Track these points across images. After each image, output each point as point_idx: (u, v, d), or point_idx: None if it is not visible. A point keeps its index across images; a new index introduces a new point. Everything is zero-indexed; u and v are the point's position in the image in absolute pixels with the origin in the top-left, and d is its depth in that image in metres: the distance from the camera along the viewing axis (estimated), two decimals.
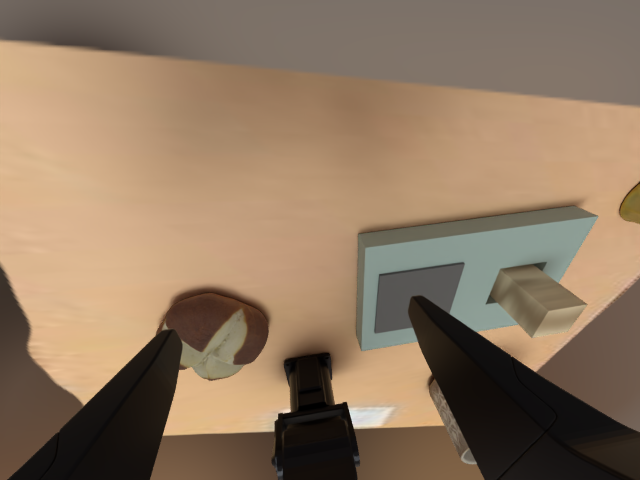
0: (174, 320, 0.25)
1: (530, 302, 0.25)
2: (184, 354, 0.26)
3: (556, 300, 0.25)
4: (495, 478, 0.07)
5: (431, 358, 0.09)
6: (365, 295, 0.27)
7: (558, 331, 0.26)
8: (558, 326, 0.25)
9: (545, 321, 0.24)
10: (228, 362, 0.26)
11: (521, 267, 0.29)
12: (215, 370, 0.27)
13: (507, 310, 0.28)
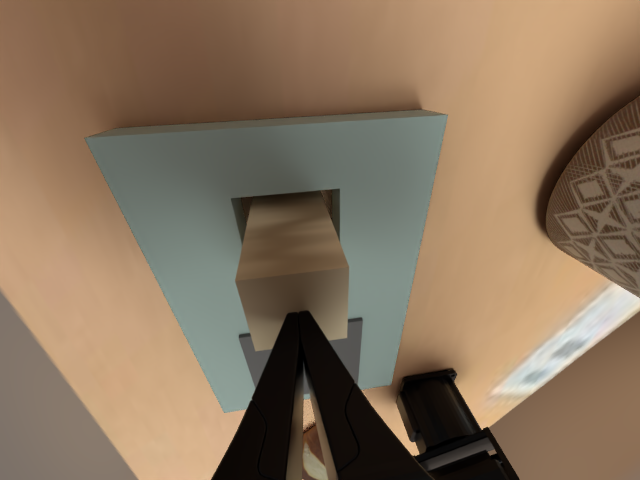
0: None
1: None
2: None
3: None
4: None
5: (306, 378, 0.09)
6: None
7: (340, 292, 0.10)
8: (315, 304, 0.10)
9: None
10: None
11: None
12: None
13: None
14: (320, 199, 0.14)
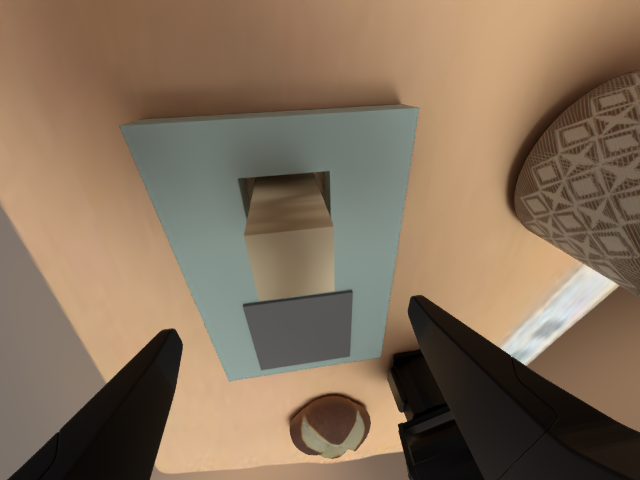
0: None
1: None
2: (328, 451, 0.36)
3: None
4: (495, 478, 0.07)
5: (431, 358, 0.09)
6: (289, 370, 0.26)
7: (327, 249, 0.12)
8: (307, 259, 0.12)
9: (287, 292, 0.13)
10: (337, 446, 0.33)
11: None
12: (349, 445, 0.35)
13: None
14: (313, 181, 0.17)
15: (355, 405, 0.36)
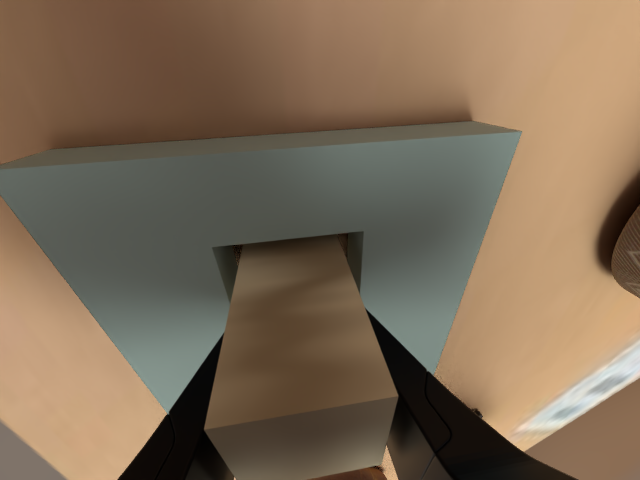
0: None
1: None
2: None
3: None
4: None
5: None
6: None
7: (378, 424, 0.06)
8: (338, 439, 0.06)
9: (297, 476, 0.07)
10: None
11: None
12: None
13: None
14: (335, 242, 0.11)
15: (372, 473, 0.30)
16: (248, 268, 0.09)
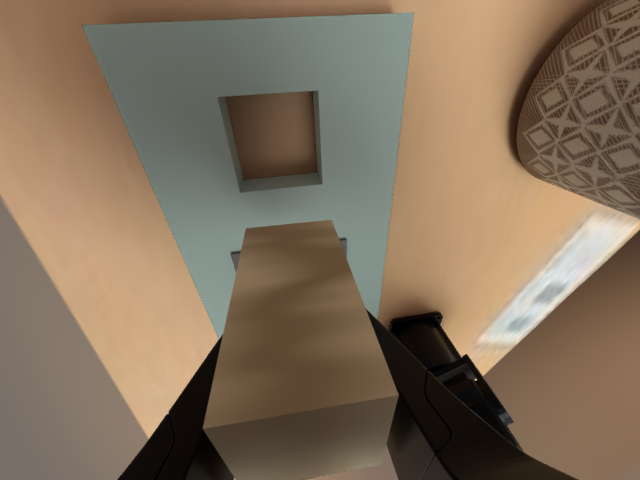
0: None
1: None
2: None
3: None
4: None
5: None
6: None
7: (378, 423, 0.06)
8: (338, 439, 0.06)
9: (297, 476, 0.07)
10: None
11: None
12: None
13: None
14: (335, 241, 0.10)
15: None
16: (248, 267, 0.09)
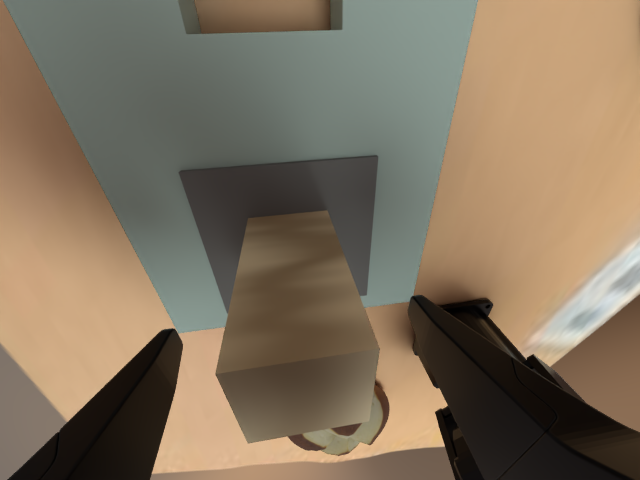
0: None
1: None
2: (333, 446, 0.27)
3: None
4: (495, 478, 0.07)
5: (431, 358, 0.09)
6: None
7: (364, 377, 0.07)
8: (329, 391, 0.07)
9: (294, 430, 0.08)
10: (346, 437, 0.24)
11: None
12: (362, 437, 0.26)
13: None
14: (330, 228, 0.11)
15: None
16: (250, 251, 0.10)
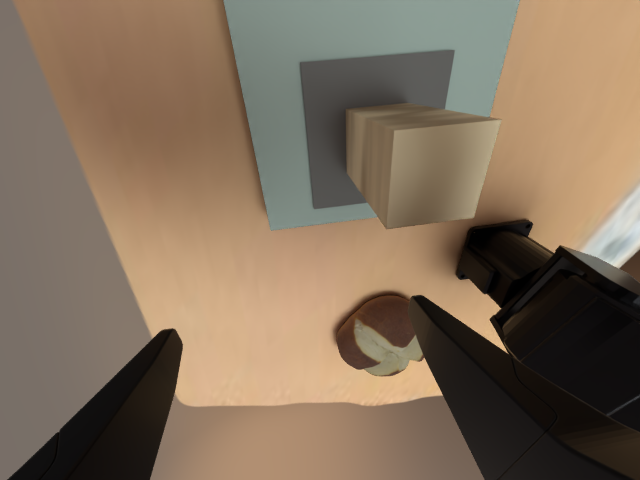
0: None
1: None
2: (384, 367, 0.30)
3: (381, 183, 0.11)
4: (495, 478, 0.07)
5: (431, 358, 0.09)
6: (348, 218, 0.20)
7: (483, 154, 0.10)
8: (457, 169, 0.10)
9: (421, 217, 0.11)
10: (400, 350, 0.27)
11: (353, 142, 0.15)
12: (412, 354, 0.28)
13: None
14: (419, 105, 0.14)
15: None
16: (365, 113, 0.13)
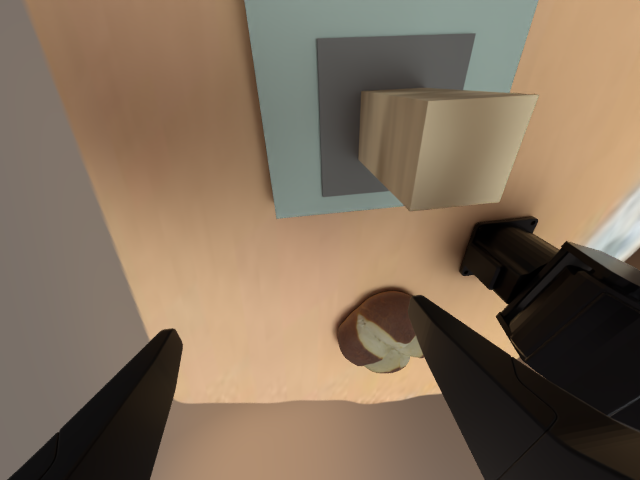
0: (349, 360, 0.30)
1: None
2: (385, 363, 0.29)
3: (405, 162, 0.10)
4: (495, 478, 0.07)
5: (431, 358, 0.09)
6: (357, 207, 0.19)
7: (516, 132, 0.09)
8: (488, 147, 0.09)
9: (447, 199, 0.10)
10: (403, 346, 0.26)
11: (370, 125, 0.14)
12: (414, 351, 0.28)
13: None
14: (439, 89, 0.14)
15: None
16: (385, 93, 0.13)
